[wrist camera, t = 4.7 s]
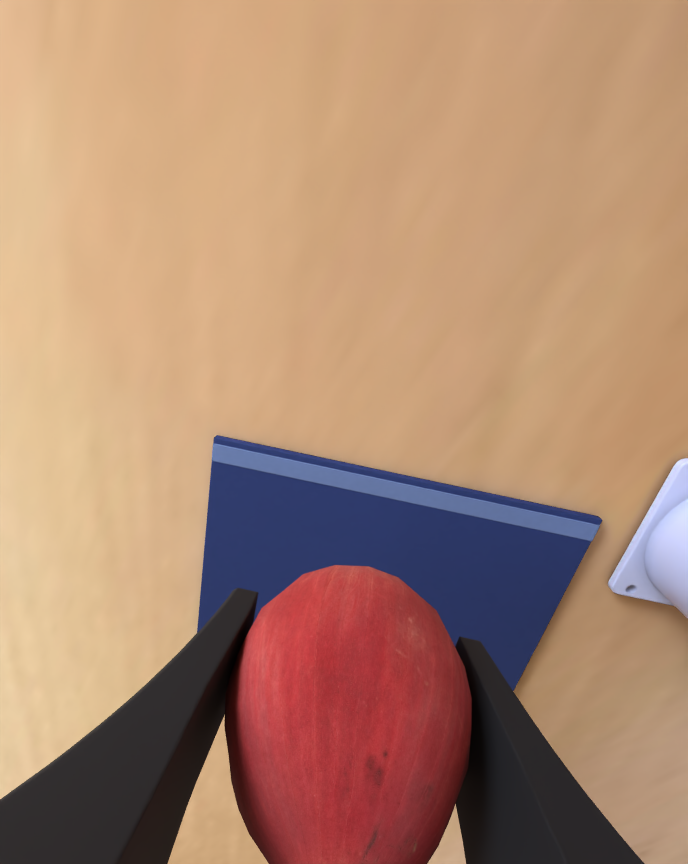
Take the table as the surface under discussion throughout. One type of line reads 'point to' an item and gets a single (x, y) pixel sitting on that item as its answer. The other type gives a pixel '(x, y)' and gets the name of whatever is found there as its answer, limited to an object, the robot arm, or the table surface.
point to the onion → (347, 722)
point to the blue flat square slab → (391, 542)
